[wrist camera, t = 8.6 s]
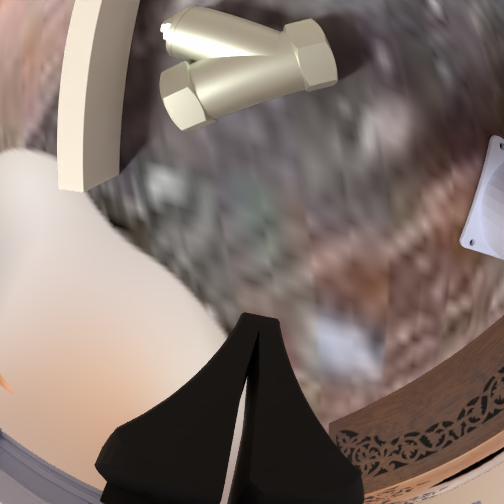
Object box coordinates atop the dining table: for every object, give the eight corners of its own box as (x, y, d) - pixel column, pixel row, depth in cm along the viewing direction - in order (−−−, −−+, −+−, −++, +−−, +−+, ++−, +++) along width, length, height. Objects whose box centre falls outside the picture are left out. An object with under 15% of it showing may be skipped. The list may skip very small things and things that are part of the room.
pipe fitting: (165, 37, 14) (198, 131, 16) (134, 19, 10) (171, 131, 12) (290, -9, 12) (332, 88, 14) (287, -41, 8) (342, 74, 10)
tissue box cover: (386, 451, 31) (392, 512, 22) (328, 421, 28) (329, 503, 19) (544, 350, 21) (575, 406, 12) (535, 281, 17) (591, 351, 8)
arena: (463, -41, 7) (490, -58, 4) (422, 232, 17) (448, 262, 13) (145, -87, 8) (121, -109, 4) (95, 172, 18) (58, 189, 14)
